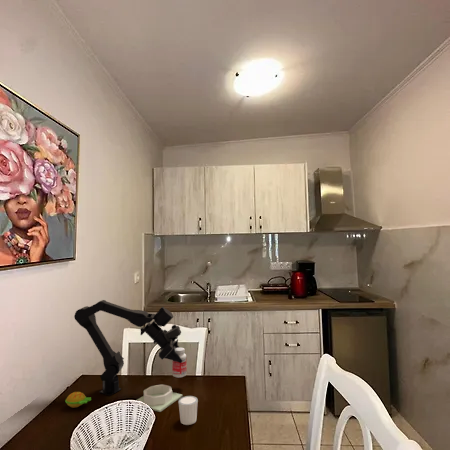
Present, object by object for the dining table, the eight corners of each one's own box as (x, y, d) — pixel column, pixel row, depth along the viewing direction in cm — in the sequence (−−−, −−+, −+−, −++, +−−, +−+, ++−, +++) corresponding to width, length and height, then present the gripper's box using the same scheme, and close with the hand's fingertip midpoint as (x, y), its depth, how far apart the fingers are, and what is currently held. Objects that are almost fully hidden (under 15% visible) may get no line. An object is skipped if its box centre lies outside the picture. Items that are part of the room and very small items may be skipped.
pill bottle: (182, 378, 134) (182, 351, 135) (169, 377, 136) (169, 350, 137) (188, 372, 140) (188, 347, 141) (176, 371, 142) (176, 346, 143)
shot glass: (194, 426, 108) (194, 405, 109) (175, 425, 110) (175, 404, 110) (200, 416, 115) (200, 396, 116) (182, 414, 117) (182, 394, 117)
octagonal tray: (132, 404, 125) (132, 394, 126) (156, 389, 138) (156, 381, 138) (160, 412, 119) (159, 402, 119) (182, 396, 131) (182, 387, 131)
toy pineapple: (73, 401, 129) (74, 387, 129) (94, 403, 126) (94, 390, 127) (61, 409, 122) (61, 395, 123) (82, 412, 120) (82, 398, 120)
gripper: (166, 325, 130) (193, 352, 130) (173, 316, 149) (196, 339, 148) (147, 346, 130) (174, 373, 129) (156, 333, 148) (180, 357, 148)
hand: (182, 359), depth 139 cm, fingers closed on pill bottle, 6 cm apart
